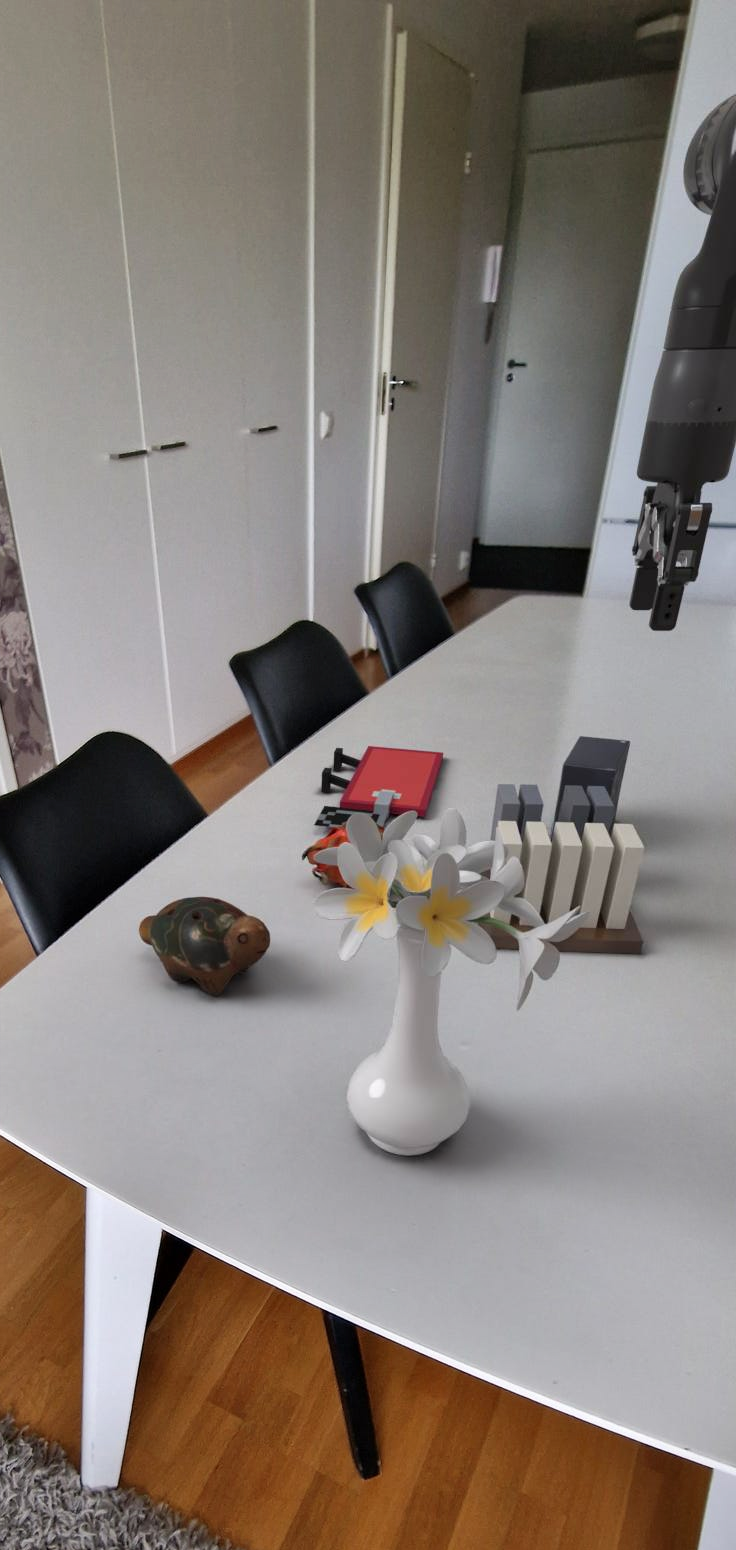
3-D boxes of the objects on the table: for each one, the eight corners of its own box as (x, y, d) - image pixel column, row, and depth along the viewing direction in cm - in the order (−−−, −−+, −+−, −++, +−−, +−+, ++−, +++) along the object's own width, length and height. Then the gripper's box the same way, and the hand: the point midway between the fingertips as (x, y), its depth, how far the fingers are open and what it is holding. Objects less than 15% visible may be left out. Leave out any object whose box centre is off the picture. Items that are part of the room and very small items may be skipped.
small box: (563, 813, 120) (578, 733, 114) (615, 821, 118) (633, 739, 112) (546, 845, 113) (561, 761, 106) (601, 854, 110) (619, 769, 104)
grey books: (588, 861, 106) (604, 785, 100) (597, 883, 101) (614, 805, 96) (487, 858, 107) (497, 783, 101) (491, 880, 102) (502, 803, 97)
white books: (614, 903, 97) (632, 823, 92) (624, 929, 93) (644, 847, 88) (487, 899, 99) (498, 820, 94) (491, 924, 94) (503, 843, 89)
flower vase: (504, 1228, 64) (569, 910, 49) (271, 1141, 71) (266, 843, 56) (554, 1117, 73) (621, 820, 58) (342, 1050, 80) (354, 773, 66)
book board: (603, 865, 108) (605, 853, 107) (640, 954, 92) (643, 941, 91) (464, 861, 110) (466, 849, 109) (477, 947, 94) (479, 935, 93)
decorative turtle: (251, 1018, 85) (241, 944, 80) (119, 986, 91) (103, 916, 87) (299, 964, 91) (293, 892, 86) (173, 937, 98) (160, 869, 93)
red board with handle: (299, 830, 117) (417, 843, 114) (299, 809, 115) (419, 822, 112) (343, 752, 140) (442, 761, 137) (344, 734, 139) (444, 743, 136)
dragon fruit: (411, 910, 103) (309, 911, 107) (418, 843, 106) (318, 846, 110) (398, 874, 96) (288, 876, 100) (406, 803, 98) (299, 808, 102)
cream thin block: (558, 901, 98) (573, 822, 93) (566, 927, 94) (582, 845, 88) (541, 900, 98) (555, 821, 93) (548, 926, 94) (563, 845, 89)
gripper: (768, 419, 72) (712, 638, 82) (716, 410, 83) (672, 603, 93) (668, 421, 73) (624, 637, 82) (630, 411, 84) (596, 603, 94)
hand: (650, 619), depth 88 cm, fingers open, 8 cm apart
